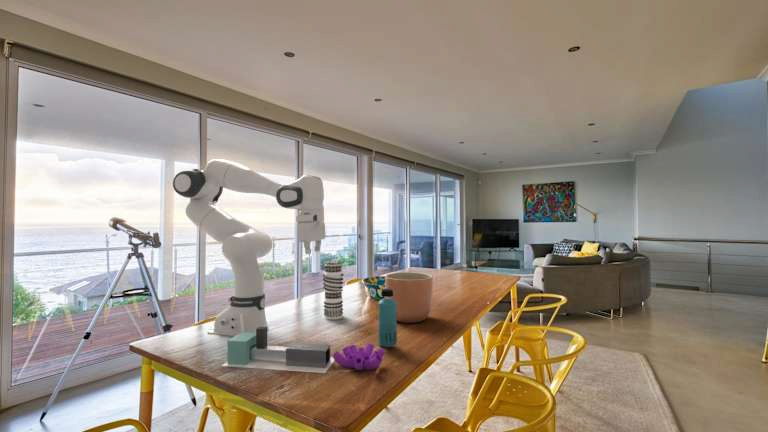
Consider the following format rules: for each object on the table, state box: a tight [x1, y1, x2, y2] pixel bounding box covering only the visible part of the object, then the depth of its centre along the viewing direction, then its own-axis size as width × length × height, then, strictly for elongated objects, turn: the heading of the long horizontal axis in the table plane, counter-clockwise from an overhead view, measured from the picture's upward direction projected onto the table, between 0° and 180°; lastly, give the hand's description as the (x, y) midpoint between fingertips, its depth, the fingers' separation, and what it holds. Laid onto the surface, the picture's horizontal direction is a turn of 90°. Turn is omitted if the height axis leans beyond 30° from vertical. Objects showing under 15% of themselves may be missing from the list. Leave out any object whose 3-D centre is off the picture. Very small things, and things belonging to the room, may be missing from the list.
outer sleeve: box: [286, 342, 331, 368], centre depth 108 cm, size 12×5×5 cm, turn 80°
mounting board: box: [221, 356, 335, 374], centre depth 109 cm, size 32×11×1 cm, turn 80°
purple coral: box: [332, 342, 386, 371], centre depth 106 cm, size 11×15×10 cm
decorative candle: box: [322, 260, 345, 320], centre depth 161 cm, size 9×9×25 cm
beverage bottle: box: [377, 288, 398, 347], centre depth 123 cm, size 6×7×20 cm
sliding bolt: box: [250, 326, 288, 361], centre depth 109 cm, size 20×3×9 cm, turn 80°
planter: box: [384, 271, 434, 324], centre depth 157 cm, size 21×21×19 cm
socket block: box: [226, 332, 256, 365], centre depth 111 cm, size 6×8×7 cm
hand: (312, 252), depth 139 cm, fingers open, 8 cm apart
